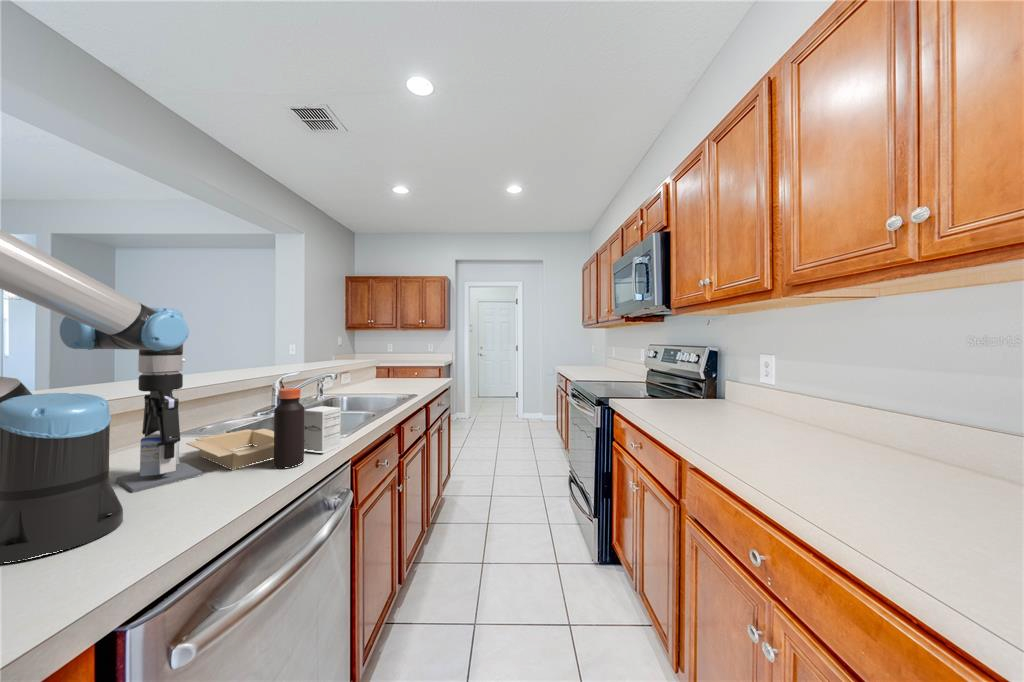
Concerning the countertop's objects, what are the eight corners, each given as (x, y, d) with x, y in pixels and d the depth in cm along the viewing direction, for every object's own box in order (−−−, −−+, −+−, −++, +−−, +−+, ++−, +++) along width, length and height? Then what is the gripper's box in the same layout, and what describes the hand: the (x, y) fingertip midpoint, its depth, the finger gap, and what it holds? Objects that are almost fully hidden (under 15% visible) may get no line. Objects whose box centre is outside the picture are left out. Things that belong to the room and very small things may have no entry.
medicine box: (155, 465, 88) (156, 430, 88) (179, 463, 90) (179, 428, 90) (139, 477, 81) (139, 438, 81) (165, 474, 83) (165, 436, 83)
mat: (202, 475, 87) (202, 471, 87) (132, 492, 77) (132, 488, 77) (183, 465, 94) (183, 462, 94) (116, 480, 83) (116, 477, 83)
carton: (304, 454, 103) (304, 439, 103) (223, 476, 87) (223, 457, 87) (259, 440, 117) (259, 427, 117) (181, 457, 100) (181, 441, 100)
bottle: (309, 461, 98) (310, 388, 98) (291, 470, 91) (292, 391, 91) (286, 460, 99) (287, 387, 99) (267, 468, 92) (267, 390, 92)
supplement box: (301, 452, 105) (302, 409, 105) (321, 445, 113) (322, 405, 113) (321, 455, 103) (322, 411, 103) (341, 447, 110) (341, 406, 110)
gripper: (199, 374, 83) (198, 472, 83) (166, 369, 94) (165, 456, 94) (155, 377, 77) (154, 482, 77) (125, 371, 88) (124, 464, 88)
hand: (160, 468), depth 85 cm, fingers closed on medicine box, 9 cm apart
